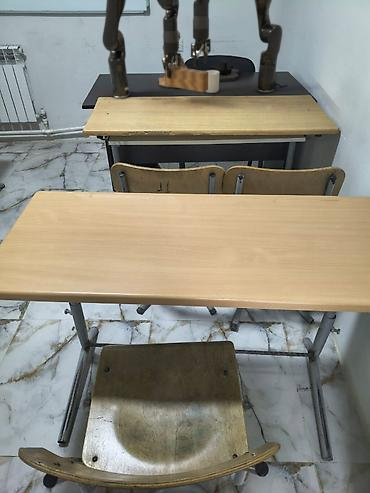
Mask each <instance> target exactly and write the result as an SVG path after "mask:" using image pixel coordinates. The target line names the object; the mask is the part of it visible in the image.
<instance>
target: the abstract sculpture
mask: <svg viewBox="0 0 370 493" xmlns="http://www.w3.org/2000/svg"><path fill="white" fill-rule="evenodd" d="M209 70H216V71H219V83H220V82H232V81H236V80H238V79H239V78H240V75H239V74H240V70H239V69H238V68H234V65H232V64H228V62H227V61H226V60H225V59H223V58H221V59H220V66H218V65H211V66H209Z"/></svg>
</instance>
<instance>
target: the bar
mask: <svg viewBox="0 0 370 493" xmlns="http://www.w3.org/2000/svg"><path fill="white" fill-rule="evenodd" d="M168 67H169V66H168ZM207 71H208V70H200V69H194V68H188V67H187V68H181V67H175V66H171V78H170V79H169V78H167V71H166V70H164V77H165V85H167V86H172V87H171V88H175V87H176V88H178V89H183V90H188V91H194V92H199V93H206V92H205V91H207V90H208V72H207Z"/></svg>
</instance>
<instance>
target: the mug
mask: <svg viewBox="0 0 370 493" xmlns="http://www.w3.org/2000/svg"><path fill="white" fill-rule="evenodd" d="M206 71H207V72H208V90H207V91H205V92H204V93H207V94H216V93H218V92H219V90H220V82H219V71H216V70H210V69H209V70H206Z"/></svg>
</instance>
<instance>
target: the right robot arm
mask: <svg viewBox="0 0 370 493" xmlns="http://www.w3.org/2000/svg"><path fill="white" fill-rule="evenodd" d="M210 1H211V0H194V1H193V4H192V5H193V6H192V10H193V12H192V13H193V14H192V15H193V16H192V17H193V18H192V38H193V40H194V42H191V43H190V58H192V59H193V67H194V68H199V57H200V55H201V53H202V63H203V64H208V61H209V59H208V58H209V53H211V51H212V49H211V38H210V14H209V12H210ZM253 1H254V6H255V11H256V18H257V27H258V28H257V29H258V36H259V39H260V42H262V43H264V44H267V48H266V49H265V50H262V51H260V55H259V56H260V57H259V67H258V77H257V86H256V91H257V92H258V93H262V94H270V93H273V92H274V91H275V90H276V88H277V87H279V88H285V87H287V86H288V84H284V85H281V84H280V83H278V82H277V64H278V58H279V56H278V55H279V53H280V50H281V45H282V41H283V40H282V39H283V27H282V26H281V24H276V23H272V22H271V17H270V8H271V6H272V1H273V0H253Z"/></svg>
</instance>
